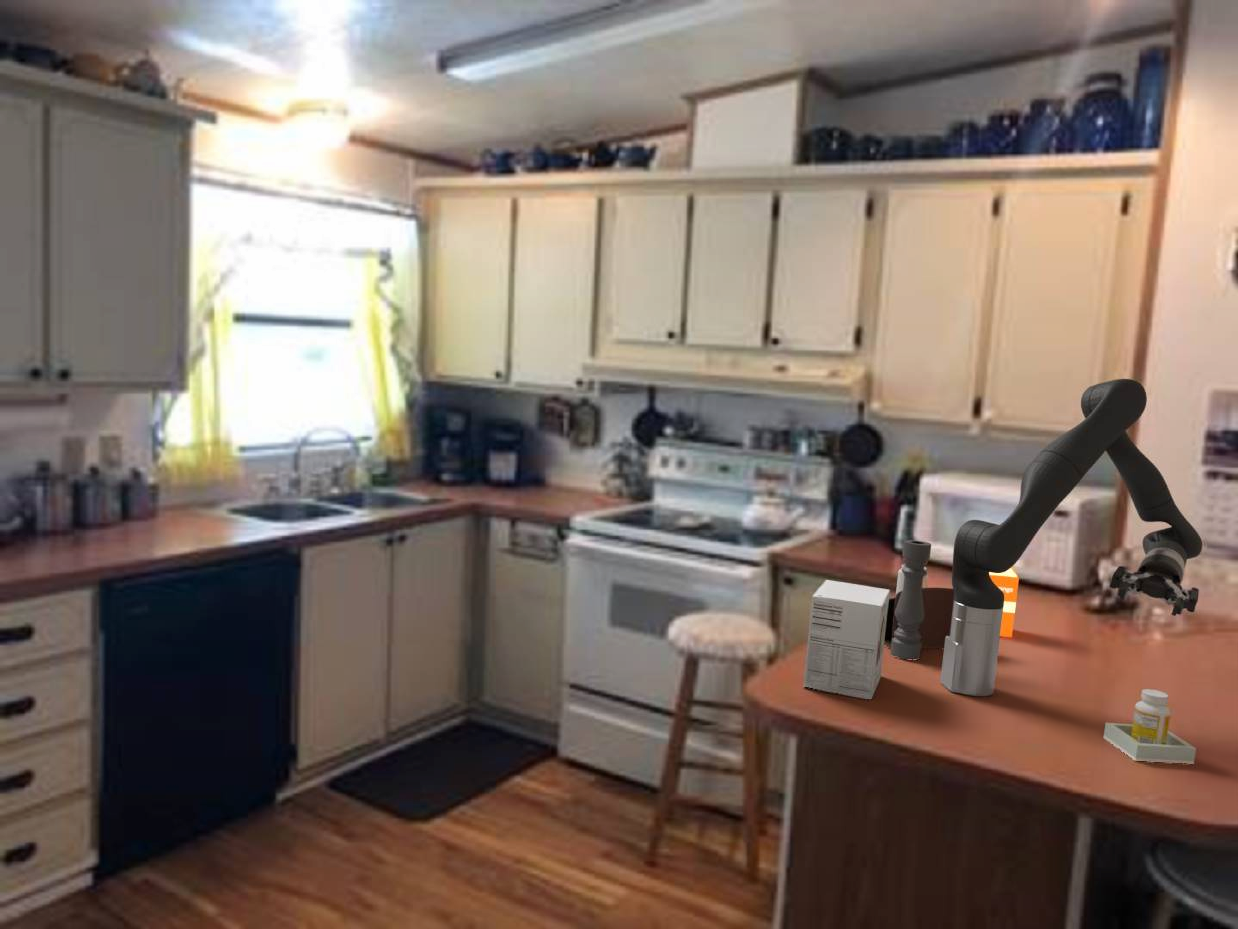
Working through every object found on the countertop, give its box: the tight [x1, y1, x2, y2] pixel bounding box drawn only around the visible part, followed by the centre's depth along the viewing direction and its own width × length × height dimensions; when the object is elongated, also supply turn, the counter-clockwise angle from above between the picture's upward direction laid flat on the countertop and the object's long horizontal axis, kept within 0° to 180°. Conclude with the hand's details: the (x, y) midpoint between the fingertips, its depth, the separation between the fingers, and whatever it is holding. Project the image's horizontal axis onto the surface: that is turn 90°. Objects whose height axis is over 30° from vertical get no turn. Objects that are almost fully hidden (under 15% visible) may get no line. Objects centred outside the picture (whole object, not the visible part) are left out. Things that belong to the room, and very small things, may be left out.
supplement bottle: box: [1131, 688, 1171, 745], centre depth 171 cm, size 5×5×10 cm
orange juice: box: [989, 566, 1020, 638], centre depth 244 cm, size 8×9×20 cm
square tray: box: [1103, 722, 1197, 765], centre depth 171 cm, size 10×10×3 cm
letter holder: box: [884, 587, 954, 650], centre depth 228 cm, size 10×20×14 cm, turn 108°
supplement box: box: [803, 579, 891, 701], centre depth 196 cm, size 17×13×18 cm
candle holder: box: [889, 539, 932, 660], centre depth 216 cm, size 6×6×25 cm
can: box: [895, 563, 930, 595], centre depth 257 cm, size 8×8×12 cm
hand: (1148, 603), depth 180 cm, fingers open, 8 cm apart
